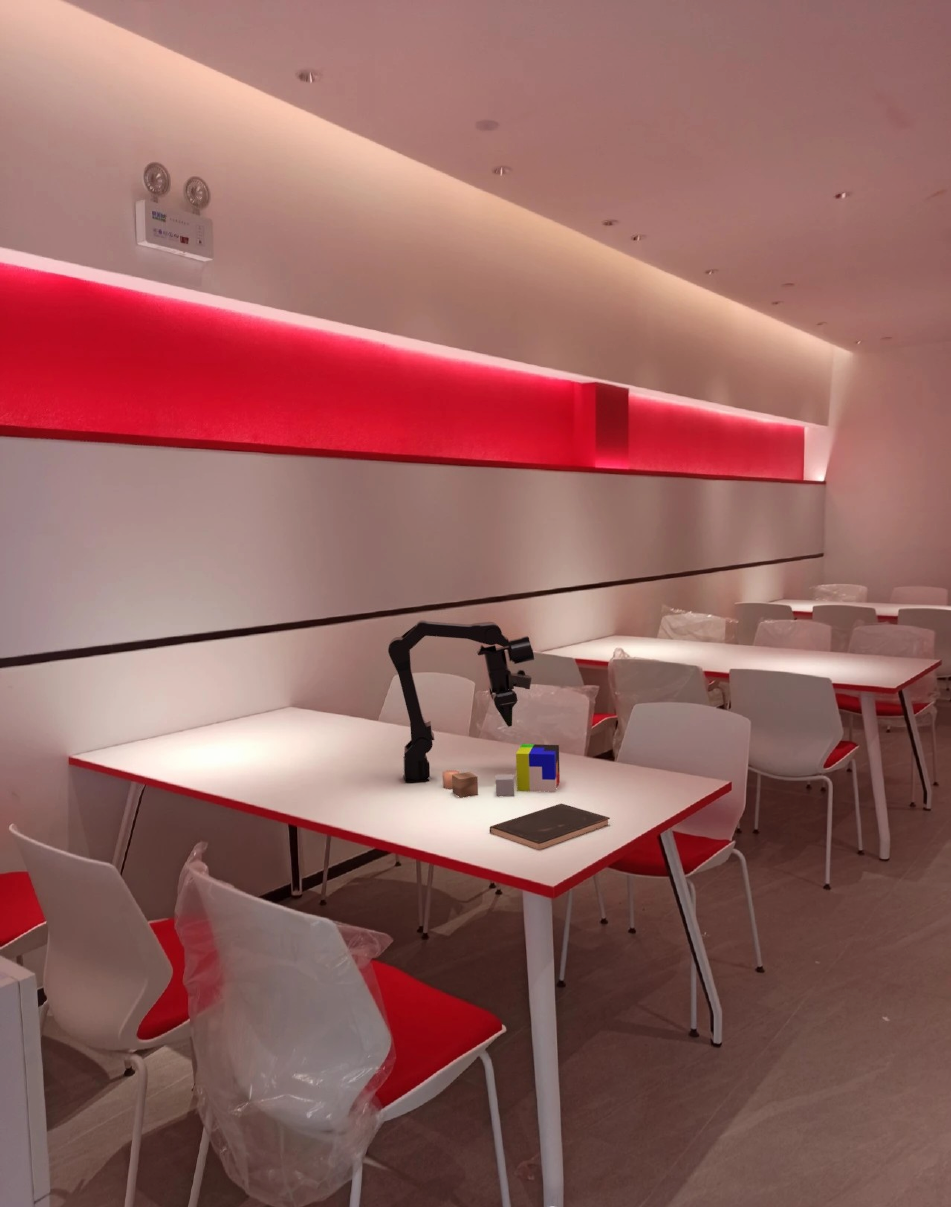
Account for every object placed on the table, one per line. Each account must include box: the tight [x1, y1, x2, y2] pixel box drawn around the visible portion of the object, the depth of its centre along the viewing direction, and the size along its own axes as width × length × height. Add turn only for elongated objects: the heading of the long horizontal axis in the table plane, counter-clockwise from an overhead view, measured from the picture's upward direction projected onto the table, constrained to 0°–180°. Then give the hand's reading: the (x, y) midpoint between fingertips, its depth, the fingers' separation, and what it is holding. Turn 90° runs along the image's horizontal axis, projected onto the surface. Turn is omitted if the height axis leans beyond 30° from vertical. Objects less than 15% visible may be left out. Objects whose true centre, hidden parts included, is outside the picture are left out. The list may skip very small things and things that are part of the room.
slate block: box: [495, 774, 515, 797], centre depth 244 cm, size 4×4×4 cm
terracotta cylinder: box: [442, 769, 460, 790], centre depth 251 cm, size 4×4×4 cm
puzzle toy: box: [515, 743, 561, 793], centre depth 249 cm, size 10×10×10 cm
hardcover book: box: [489, 803, 611, 850], centre depth 216 cm, size 16×23×2 cm
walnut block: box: [451, 771, 479, 799], centre depth 244 cm, size 5×5×5 cm
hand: (508, 722), depth 260 cm, fingers open, 9 cm apart
